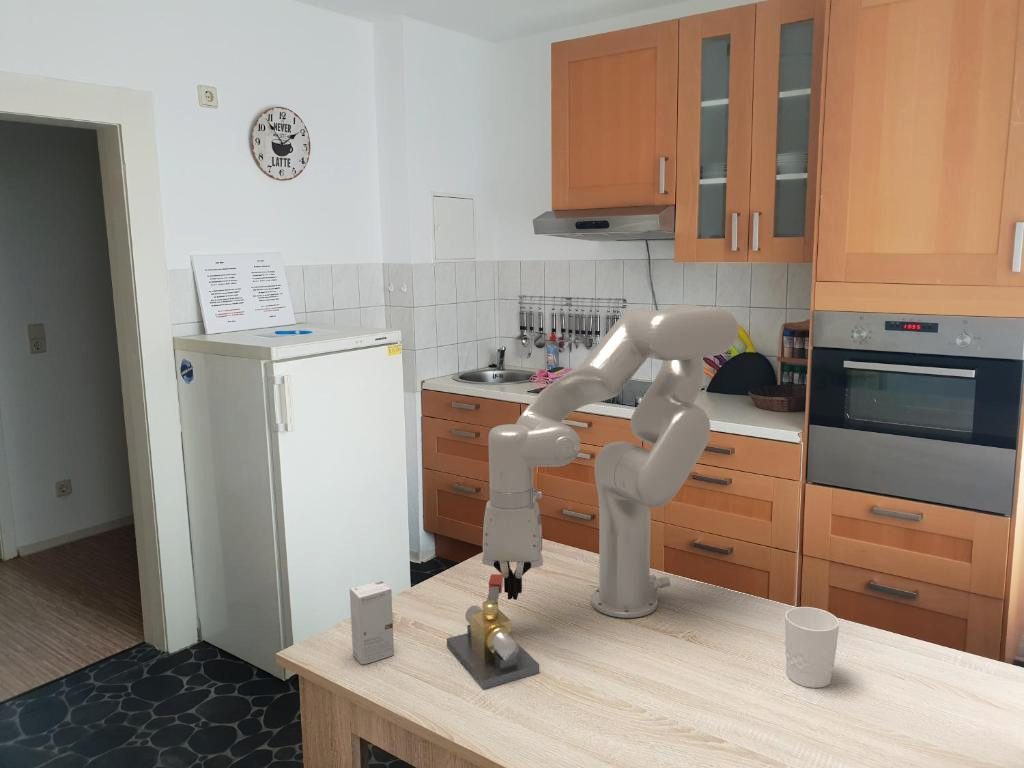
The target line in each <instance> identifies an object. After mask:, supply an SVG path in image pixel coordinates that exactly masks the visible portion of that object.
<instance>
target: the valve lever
mask: <svg viewBox="0 0 1024 768" xmlns="http://www.w3.org/2000/svg"><path fill="white" fill-rule="evenodd" d="M503 589H504V577H502V574H501V573H498V574H495V573H493V574H492V573H491V574H490V578H489V581H488V595H487V599H486V600H485V601H483V602H482V607H481V609H482V610H483V617H484V618H485V619H495V618H497V617H498V609H499V602H498V601H499V596H500V594H502V592H503Z"/></svg>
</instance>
